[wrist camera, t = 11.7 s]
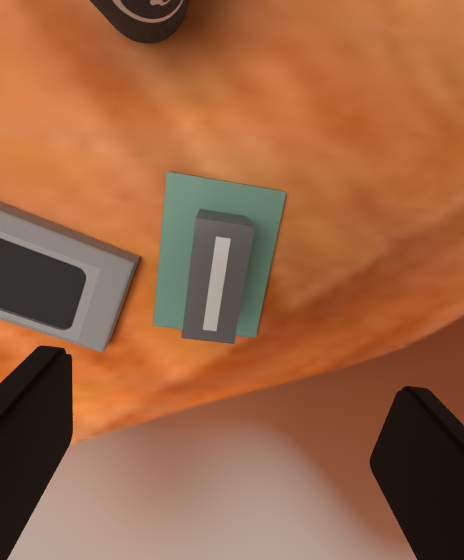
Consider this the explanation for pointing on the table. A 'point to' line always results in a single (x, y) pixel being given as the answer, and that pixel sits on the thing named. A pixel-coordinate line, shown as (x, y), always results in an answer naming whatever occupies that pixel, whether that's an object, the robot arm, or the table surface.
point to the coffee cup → (144, 17)
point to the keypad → (61, 279)
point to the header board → (179, 238)
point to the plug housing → (217, 275)
